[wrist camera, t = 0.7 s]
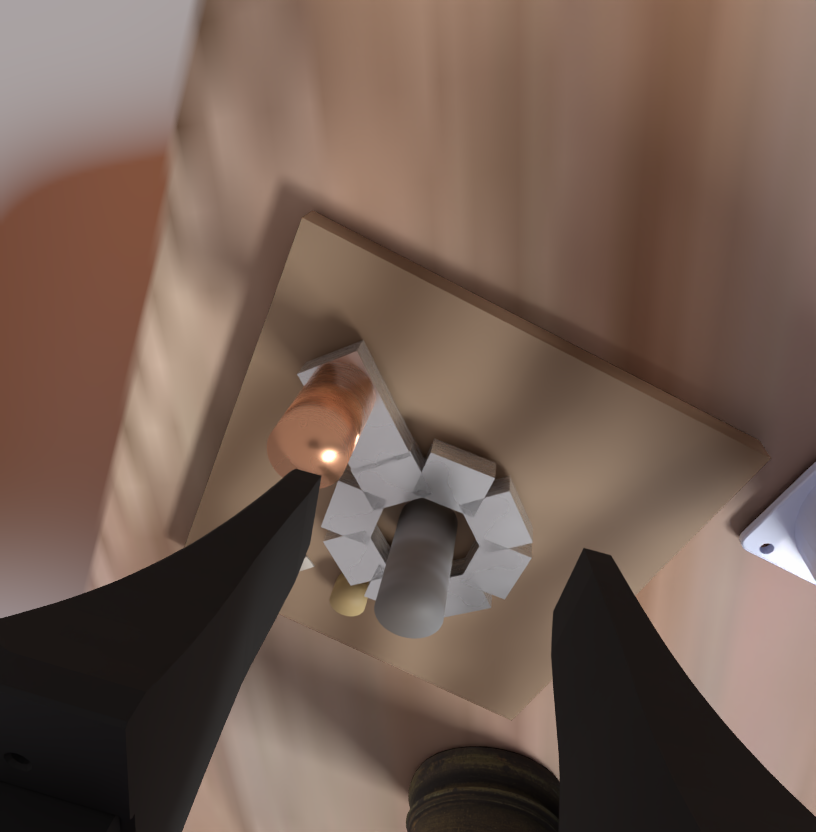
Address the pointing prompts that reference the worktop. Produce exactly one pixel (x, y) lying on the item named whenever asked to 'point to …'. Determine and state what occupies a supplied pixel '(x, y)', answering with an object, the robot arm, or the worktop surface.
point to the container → (483, 793)
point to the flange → (395, 480)
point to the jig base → (483, 436)
